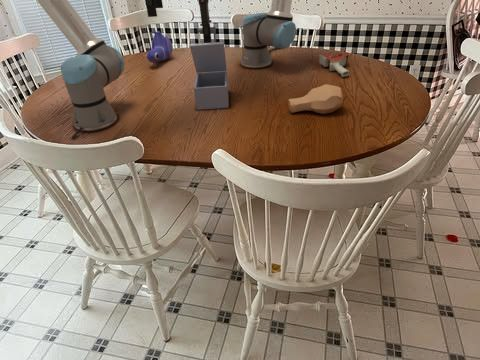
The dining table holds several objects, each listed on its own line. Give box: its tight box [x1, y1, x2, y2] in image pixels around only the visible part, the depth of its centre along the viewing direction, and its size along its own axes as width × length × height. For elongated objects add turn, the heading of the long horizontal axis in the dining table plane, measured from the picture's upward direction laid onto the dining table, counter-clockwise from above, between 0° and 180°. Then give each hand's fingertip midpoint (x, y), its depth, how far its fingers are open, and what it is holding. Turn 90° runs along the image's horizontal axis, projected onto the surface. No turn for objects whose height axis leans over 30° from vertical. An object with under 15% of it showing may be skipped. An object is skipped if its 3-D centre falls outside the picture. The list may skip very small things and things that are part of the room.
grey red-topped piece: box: [318, 51, 350, 78], centre depth 164 cm, size 18×5×20 cm
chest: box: [193, 70, 230, 111], centre depth 142 cm, size 17×12×9 cm
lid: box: [189, 26, 228, 74], centre depth 138 cm, size 18×12×9 cm
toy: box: [145, 30, 174, 68], centre depth 184 cm, size 10×17×25 cm
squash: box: [287, 83, 344, 115], centre depth 129 cm, size 11×20×9 cm, turn 92°
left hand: (156, 12), depth 117 cm, fingers open, 13 cm apart
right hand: (207, 42), depth 135 cm, fingers closed on lid, 2 cm apart
